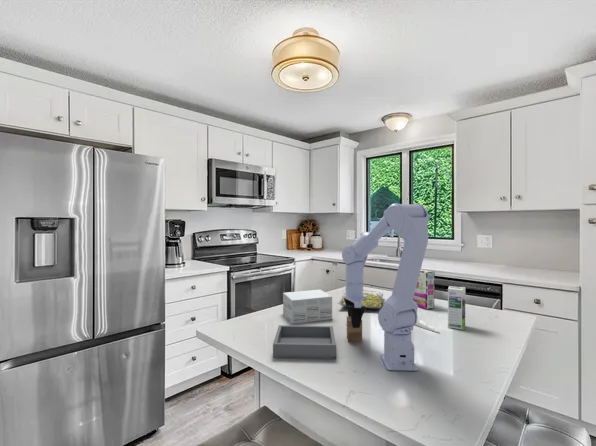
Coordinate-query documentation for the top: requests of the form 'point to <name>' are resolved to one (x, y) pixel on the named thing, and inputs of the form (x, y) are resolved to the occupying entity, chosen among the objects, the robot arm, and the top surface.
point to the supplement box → (307, 306)
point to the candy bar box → (425, 290)
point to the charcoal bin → (304, 342)
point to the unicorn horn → (425, 326)
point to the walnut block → (353, 331)
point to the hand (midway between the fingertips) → (354, 323)
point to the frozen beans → (368, 299)
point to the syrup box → (456, 307)
